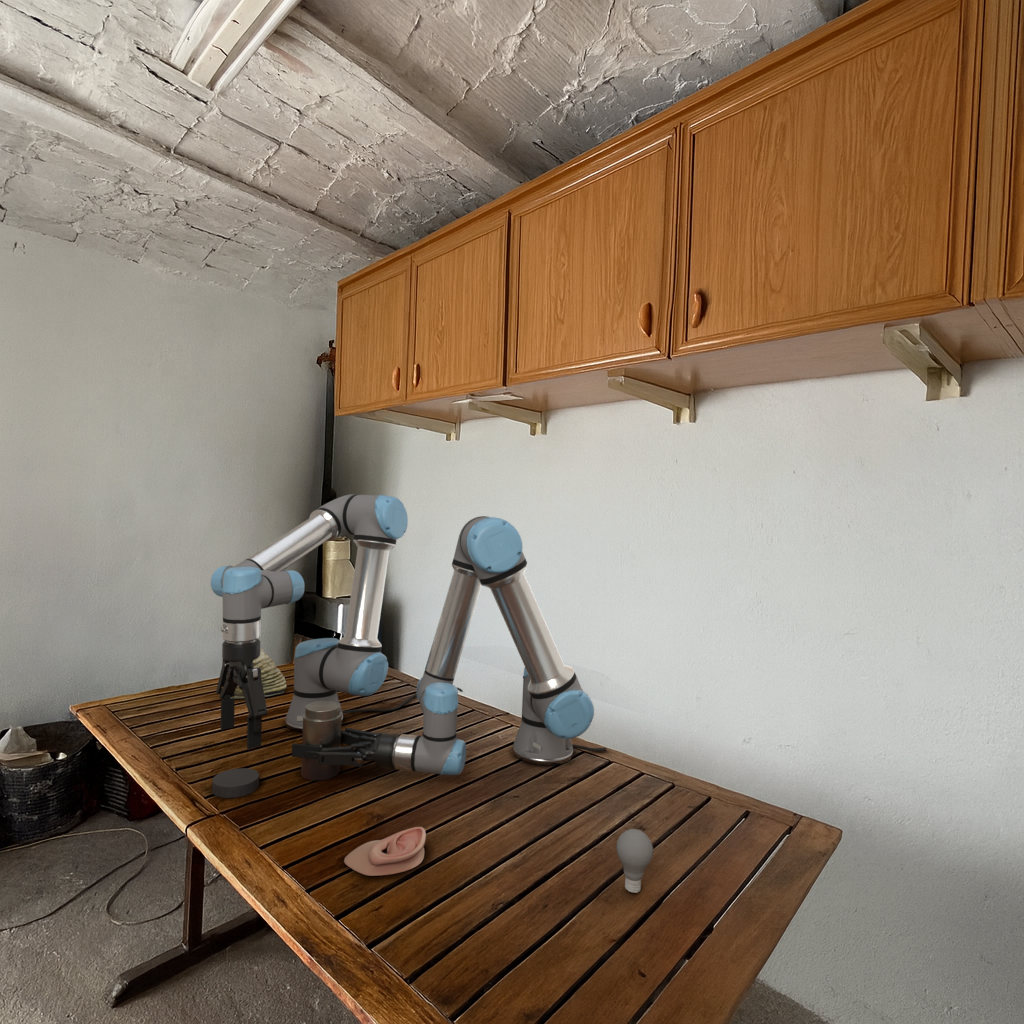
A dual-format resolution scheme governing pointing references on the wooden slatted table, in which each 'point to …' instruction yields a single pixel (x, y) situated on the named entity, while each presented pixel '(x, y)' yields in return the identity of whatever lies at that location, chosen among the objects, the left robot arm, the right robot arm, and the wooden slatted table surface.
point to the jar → (321, 737)
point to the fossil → (267, 676)
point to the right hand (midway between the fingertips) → (302, 742)
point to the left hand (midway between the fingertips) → (240, 737)
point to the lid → (235, 783)
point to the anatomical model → (389, 853)
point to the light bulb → (634, 857)
